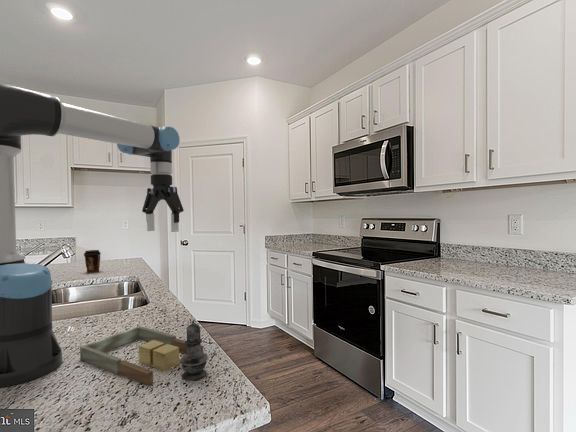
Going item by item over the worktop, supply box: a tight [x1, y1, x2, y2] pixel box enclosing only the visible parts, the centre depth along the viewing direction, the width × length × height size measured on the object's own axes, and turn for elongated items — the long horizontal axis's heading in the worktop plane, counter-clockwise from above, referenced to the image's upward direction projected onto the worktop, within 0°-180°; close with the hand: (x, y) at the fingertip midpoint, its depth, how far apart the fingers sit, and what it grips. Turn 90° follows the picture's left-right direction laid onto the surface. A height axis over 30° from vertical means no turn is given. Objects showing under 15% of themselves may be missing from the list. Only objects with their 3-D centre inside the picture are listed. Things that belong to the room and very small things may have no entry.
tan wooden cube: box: [152, 344, 180, 372], centre depth 75 cm, size 4×4×4 cm
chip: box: [138, 340, 165, 367], centre depth 77 cm, size 4×4×4 cm
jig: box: [79, 325, 204, 386], centre depth 79 cm, size 16×25×3 cm, turn 60°
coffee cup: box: [83, 249, 102, 275], centre depth 191 cm, size 9×8×13 cm
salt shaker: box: [179, 319, 209, 382], centre depth 70 cm, size 6×6×12 cm
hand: (162, 231), depth 122 cm, fingers open, 13 cm apart
